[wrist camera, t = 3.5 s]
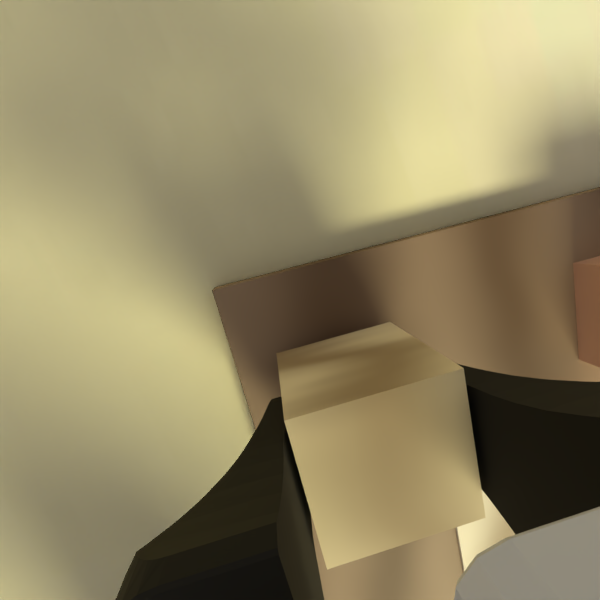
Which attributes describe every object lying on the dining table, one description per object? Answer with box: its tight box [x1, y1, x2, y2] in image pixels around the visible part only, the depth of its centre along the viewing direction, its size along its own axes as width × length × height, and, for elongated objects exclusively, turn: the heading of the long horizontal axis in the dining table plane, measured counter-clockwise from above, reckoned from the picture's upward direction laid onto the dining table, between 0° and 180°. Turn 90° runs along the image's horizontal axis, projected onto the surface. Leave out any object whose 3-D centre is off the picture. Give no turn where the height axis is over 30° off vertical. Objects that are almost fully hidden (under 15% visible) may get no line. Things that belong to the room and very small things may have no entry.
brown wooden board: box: [212, 187, 600, 600], centre depth 15 cm, size 22×20×1 cm
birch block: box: [276, 322, 486, 570], centre depth 10 cm, size 4×4×4 cm
